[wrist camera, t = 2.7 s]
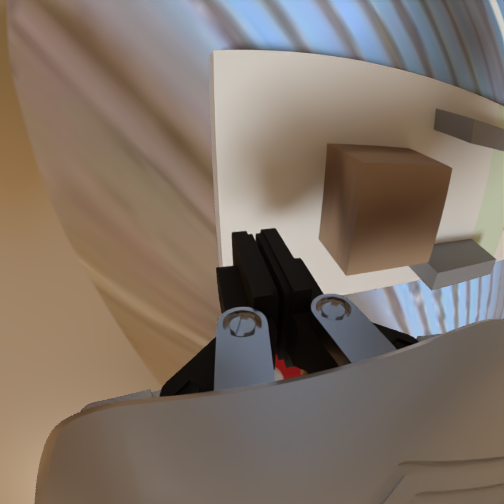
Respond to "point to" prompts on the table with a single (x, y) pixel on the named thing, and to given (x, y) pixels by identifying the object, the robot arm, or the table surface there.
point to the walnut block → (381, 206)
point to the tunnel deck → (349, 132)
